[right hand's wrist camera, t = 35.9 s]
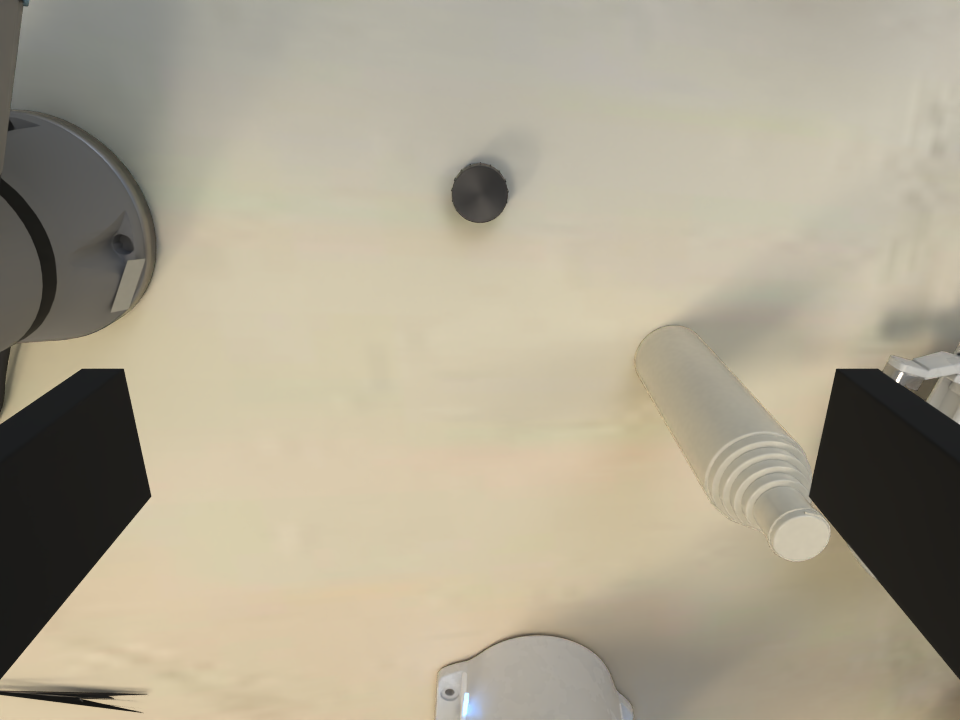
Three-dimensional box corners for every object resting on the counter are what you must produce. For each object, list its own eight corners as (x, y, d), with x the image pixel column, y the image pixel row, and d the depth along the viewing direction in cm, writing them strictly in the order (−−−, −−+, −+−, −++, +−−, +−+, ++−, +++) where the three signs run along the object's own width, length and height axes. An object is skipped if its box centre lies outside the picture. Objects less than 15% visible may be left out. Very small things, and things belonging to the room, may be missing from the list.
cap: (514, 172, 44) (516, 175, 43) (498, 226, 46) (498, 230, 44) (461, 155, 44) (460, 157, 42) (445, 209, 45) (444, 214, 44)
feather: (-139, 666, 62) (-158, 672, 60) (158, 692, 62) (148, 699, 60) (-143, 685, 62) (-163, 692, 60) (155, 711, 62) (145, 719, 60)
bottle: (696, 394, 50) (841, 592, 30) (628, 387, 50) (727, 581, 30) (713, 329, 48) (880, 494, 28) (642, 321, 48) (759, 481, 28)
